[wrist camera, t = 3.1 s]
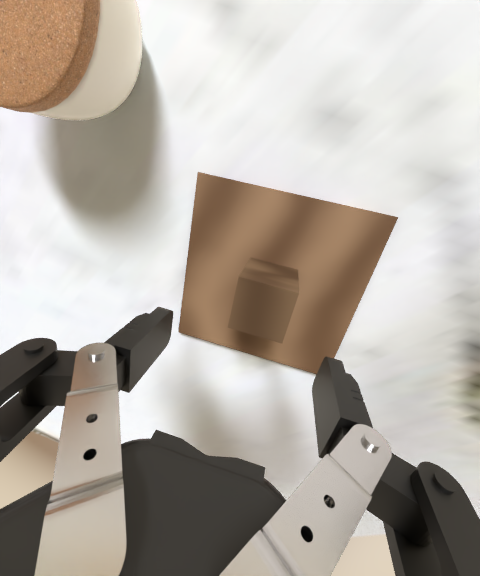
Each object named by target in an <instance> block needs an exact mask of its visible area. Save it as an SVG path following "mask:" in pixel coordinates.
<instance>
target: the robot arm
mask: <svg viewBox="0 0 480 576" xmlns="http://www.w3.org/2000/svg"><path fill="white" fill-rule="evenodd" d="M172 320H173V311H171V310H168V309H164V308H161V307H157V308H156V309H155V310H154V311H153V312H152V313H150V314H148V313H145V314H142V315H139V316H137V317H135V318H134V319H133V320H132V321H130V323H128V324H127V325H125V326H124V328H122V329H121V330H119V331H118V332H117V333H116V334H114V335H113V336H112V337H111V338H109V339H108V340H107V341H106V342H104V343H93V344H89V345H86V346H84V347H83V348H81V349H80V350H79V351H61V350H57V345H56V342H55V341H53V340H51V339H47V338H35V339H30V340H27V341H24V342H21V343H19V344H18V345H16V346H14V347H13V348H11V349H9V350H8V351H6V352H4V353H3V354H1V355H0V406H1V405H2V404H3V403H4V402H5V401H7V400H8V399H9V398H10V397H12V396H13V395H14V394H16V393H17V392H18V391H19V393H18V394H17V395H16V396H14V397H13V398H12V399H11V400H9V401H8V402H7V403H6V404H4V405H3V406H2V407H1V408H0V462H1V461H2V460H3V459H4V457H6V456H7V455H8V454H9V453H10V452H11V451H12V450H13V449H14V448H15V447H16V446H17V445H18V444H19V443H20V442H21V441H22V439H24V438H25V437H26V436H27V435H28V434H29V433H30V432H31V431H32V430H33V429H34V428H35V427H36V426H37V425H38V424H39V423H40V422H41V421H42V420H43V419H44V418H45V417H46V416H47V415H48V414H49V413H50V412H51V411H52V410H53V409H54V408H55V407H56V406H65V409H64V415H63V421H62V427H61V433H60V440H59V446H58V452H57V458H56V465H55V471H54V477H53V481H51V482H50V483H48V484H46V485H44V486H42V487H40V488H38V489H37V490H35V491H33V492H32V493H30V494H27V495H26V496H24V497H22V498H20V499H18V500H16V501H15V502H13V503H11V504H9V505H7V506H5V507H4V508H2V509H0V576H331V574H332V572H333V570H334V568H335V566H336V564H337V562H338V561H339V559H340V557H341V555H342V553H343V551H344V549H345V547H346V546H347V544H348V542H349V539H350V538H351V536H352V534H353V532H354V531H355V529H356V527H357V525H358V523H359V521H360V519H361V517H362V516H363V514H364V512H365V510H366V509H367V510H368V511H369V512H371V513H372V514H374V515H375V516H376V517H378V518H379V519H381V520H382V521H383V523H384V528H385V532H386V536H387V540H388V545H389V549H390V554H391V558H392V562H393V567H394V571H395V575H396V576H480V519H479V517H478V516H477V514H476V512H475V510H474V508H473V506H472V504H471V502H470V500H469V499H468V497H467V495H466V493H465V491H464V490H463V488H462V487H461V485H460V484H459V483H458V482H457V481H456V480H455V478H454V477H453V476H451V475H450V474H449V473H448V472H447V471H445V470H444V469H443V468H441V467H439V466H438V465H436V464H433V463H430V462H422V463H420V464H419V465H418V467H417V468H416V467H414V466H413V465H411V464H409V463H408V462H406V461H404V460H402V459H401V458H399V457H397V456H396V455H394V454H393V453H392V452H391V448H390V446H389V444H388V443H387V441H386V440H385V438H384V437H383V436H382V435H381V434H380V433H379V432H377V431H376V430H375V429H373V427H372V424H371V421H370V418H369V415H368V412H367V409H366V406H365V403H364V402H363V397H362V395H361V392H360V389H359V386H358V383H357V382H356V381H355V379H354V378H353V377H352V376H351V374H348V373H345V370H344V366H343V363H342V361H340V360H337V359H333V358H330V357H325V358H324V359H323V361H322V363H321V366H320V368H319V370H318V373H317V375H316V377H315V379H314V383H313V388H312V395H313V404H314V414H315V423H316V433H317V443H318V452H319V457H320V458H323V459H322V460H321V461H320V462H319V463H318V465H317V466H316V467H315V468H314V469H313V470H312V471H311V473H310V474H309V475H308V476H307V477H306V478H305V480H304V481H303V482H302V483H301V484H300V485H299V487H298V488H297V489H296V490H295V491H294V492H293V494H292V495H291V496H290V497H289V498H288V499H287V501H286V500H285V499H284V497H283V496H282V495H281V493H280V492H279V491H278V490H277V489H276V488H275V487H274V486H273V485H272V484H271V483H270V482H269V481H267V480H266V479H264V471H265V467H262V466H259V465H256V464H253V463H251V462H248V461H245V460H242V459H239V458H231V457H215V456H207V455H205V454H203V453H202V452H200V451H199V450H197V449H196V448H195V447H193V446H192V445H190V444H189V443H187V442H186V441H184V440H183V439H181V438H178V437H175V436H172V435H170V434H167V433H164V432H161V431H158V430H156V431H155V433H154V434H153V436H152V438H151V439H137V440H132V441H129V442H125V443H123V444H121V435H120V415H119V395H118V392H119V391H120V390H122V391H125V392H128V393H129V392H130V391H131V390H132V389H133V387H134V386H135V385H136V384H137V382H138V381H139V380H140V379H141V377H142V376H143V375H144V374H145V372H146V371H147V370H148V369H149V367H150V366H151V365H152V364H153V362H154V361H155V360H156V359H157V357H158V356H159V355H160V354H161V353H162V351H163V350H164V349H165V348H166V346H167V344H168V342H169V340H170V336H171V329H172Z"/></svg>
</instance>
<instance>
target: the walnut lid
mask: <svg viewBox="0 0 480 576" xmlns="http://www.w3.org/2000/svg"><path fill="white" fill-rule="evenodd" d="M397 219H398V217H394V216H390V215H385V214H381V213H377V212H372V211H368V210H363V209H359V208H354V207H350V206H346V205H341V204H337V203H332V202H328V201H324V200H319V199H315V198H310V197H306V196H301V195H297V194H293V193H288V192H284V191H279V190H275V189H270V188H266V187H262V186H257V185H253V184H248V183H244V182H240V181H235V180H231V179H226V178H222V177H217V176H213V175H209V174H204V173H200V172H198V175H197V184H196V192H195V200H194V208H193V217H192V225H191V233H190V241H189V250H188V258H187V266H186V274H185V283H184V291H183V299H182V307H181V316H180V324H179V332H180V333H183V334H186V335H190V336H193V337H196V338H199V339H203V340H206V341H209V342H213V343H216V344H219V345H223V346H226V347H229V348H232V349H236V350H239V351H242V352H246V353H249V354H252V355H255V356H259V357H262V358H265V359H269V360H272V361H275V362H279V363H282V364H285V365H288V366H292V367H295V368H298V369H302V370H305V371H308V372H311V373H315V374H317V373H318V370H319V368H320V366H321V363H322V361H323V359H324V358H325V357H330V358H333V359H334V357H335V355H336V353H337V351H338V348H339V346H340V344H341V342H342V340H343V337H344V335H345V333H346V331H347V329H348V326H349V324H350V322H351V320H352V318H353V315H354V313H355V311H356V309H357V307H358V304H359V302H360V300H361V298H362V296H363V294H364V291H365V289H366V287H367V285H368V283H369V280H370V278H371V276H372V274H373V272H374V269H375V267H376V265H377V263H378V261H379V258H380V256H381V254H382V252H383V250H384V247H385V245H386V243H387V241H388V239H389V236H390V234H391V232H392V230H393V228H394V225H395V223H396V221H397Z"/></svg>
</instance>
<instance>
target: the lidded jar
mask: <svg viewBox="0 0 480 576" xmlns="http://www.w3.org/2000/svg"><path fill="white" fill-rule="evenodd" d="M142 47H143V44H142V26H141V19H140V13H139V8H138V4H137V1H136V0H0V107H3V108H7V109H11V110H14V111H19V112H29V113H33V114H37V115H41V116H45V117H49V118H54V119H62V120H90V119H95V118H98V117H101V116H104V115H107V114H109V113H111V112H112V111H114V110H115V109H117V108H118V107H119V106H120V105H121V104H122V103H123V102H124V101H125V100H126V99H127V97H128V96H129V94H130V93H131V91H132V89H133V87H134V85H135V83H136V80H137V77H138V74H139V71H140V66H141V60H142Z"/></svg>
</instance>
